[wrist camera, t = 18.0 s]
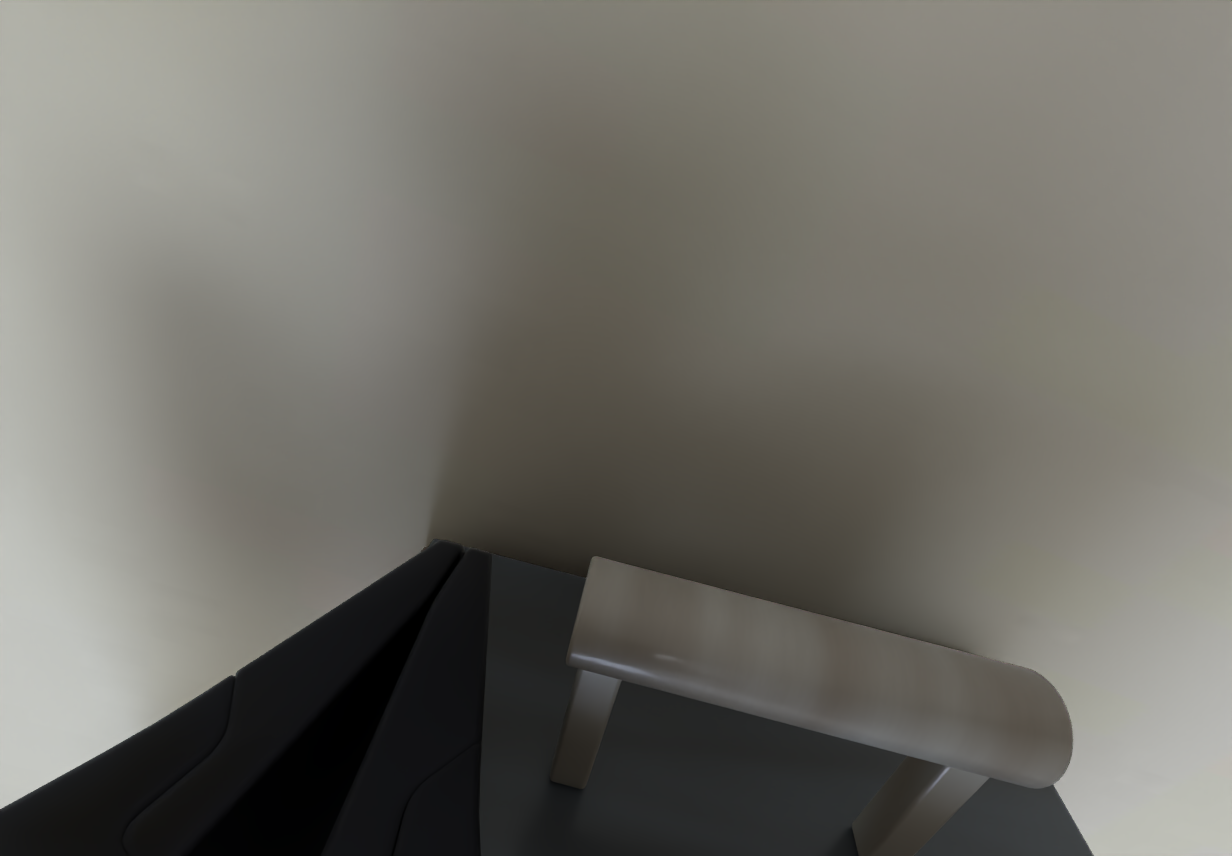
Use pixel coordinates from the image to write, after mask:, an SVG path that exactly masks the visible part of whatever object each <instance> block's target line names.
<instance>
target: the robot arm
mask: <svg viewBox="0 0 1232 856" xmlns="http://www.w3.org/2000/svg"><path fill="white" fill-rule="evenodd" d="M491 572H492V554H491V553H490V552H487V551H483V550H480V549H476V548H469V549H468V550H467V551H466V552H465V548H464V546H463V545H461V544H457V543H454V542H450V541H446V540H440V541H438V542H436V543H434V544H433V545H431V546H430V547H428V548H427V549H425V550H424V551H422V552H421V553H419V554H417V555H416V556H414V557H413V558H411V559H410V560H408V561H407V562H405V563H404V564H402V565H401V566H399V567H397V568H396V569H394V570H393V571H391V572H390V573H388V574H387V575H385V576H384V577H382V578H380V579H379V580H377V581H376V582H374V583H373V584H371V585H370V586H368V587H367V588H365V589H364V590H362V591H360V592H359V593H357V594H356V595H354V596H353V597H351V598H350V599H348V600H347V601H345V602H343V603H342V604H340V605H339V606H337V607H336V608H334V609H333V610H331V611H330V612H328V613H326V614H325V615H323V616H322V617H320V618H319V619H317V620H316V621H314V622H313V623H311V624H310V625H308V626H306V627H305V628H303V629H302V630H300V631H299V632H297V633H296V634H294V635H293V636H291V637H289V638H288V639H286V640H285V641H283V642H282V643H280V644H279V645H277V646H276V647H274V648H273V649H271V650H269V651H268V652H266V653H265V654H263V655H262V656H260V657H259V658H257V659H256V660H254V661H252V662H251V663H249V664H248V665H246V666H245V667H243V668H242V669H240V670H239V671H237V673H236V676H233V675H231V676H229V677H227V678H226V679H224V680H223V681H221V682H220V683H218V684H217V685H215V686H213V687H212V688H210V689H209V690H207V691H206V692H204V693H203V694H201V695H199V696H198V697H196V698H195V699H193V700H191V701H190V702H188V703H187V704H185V705H183V706H182V707H180V708H179V709H177V710H175V711H174V712H172V713H170V714H169V715H167V716H166V717H164V718H162V719H161V720H159V721H158V722H156V723H154V724H152V725H151V726H149V727H147V728H145V729H144V730H142V731H140V732H138V733H137V734H135V735H133V736H132V737H130V738H128V739H126V740H125V741H123V742H121V743H119V744H118V745H116V746H114V747H112V748H111V749H109V750H107V751H105V752H104V753H102V754H100V755H98V756H96V757H95V758H93V759H91V760H89V761H87V762H85V763H84V764H82V765H80V766H78V767H76V768H75V769H73V770H71V771H69V772H67V773H65V774H64V775H62V776H60V777H58V778H56V779H55V780H53V781H51V782H49V783H47V784H45V785H44V786H42V787H40V788H38V789H36V790H35V791H33V792H31V793H29V794H27V795H25V796H24V797H22V798H20V799H18V800H16V801H15V802H13V803H11V804H9V805H7V806H5V807H4V808H2V809H0V856H481V843H480V819H479V808H480V770H481V752H482V746H481V742H482V730H483V712H484V695H485V677H486V660H487V642H488V624H489V607H490V589H491Z"/></svg>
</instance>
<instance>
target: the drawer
mask: <svg viewBox="0 0 1232 856" xmlns="http://www.w3.org/2000/svg"><path fill="white" fill-rule="evenodd" d="M438 541H440V540H438V539H434V540H433V541H432V542H431V544H430V545H429V547H430V546H431V545H433V544H434V543H436V542H438ZM464 548H465V552H466V551H467V550H468V549H469V547H465V546H464ZM491 554H492V553H491ZM481 746H482V752H481V770H480V808H479V819H480V843H481V856H1094V855H1093V854H1092V852H1091V850H1090V848H1089V847H1088V845H1087V843H1086V841H1085V840H1084V838H1083V836H1082V834H1081V833H1080V831H1079V829H1078V827H1077V826H1076V824H1075V822H1074V820H1073V819H1072V817H1071V815H1070V813H1069V811H1068V810H1067V808H1066V806H1065V804H1064V803H1063V801H1062V799H1061V797H1060V796H1059V794H1058V792H1057V790H1056V789H1055V787H1054V785H1053V784H1054V783H1056V782H1057V781H1058V780H1059V779H1060V778H1061V777H1062V776H1063V775H1064V773H1065V771H1066V770H1067V767H1068V765H1069V763H1070V759H1071V756H1072V749H1073V731H1072V725H1071V720H1070V717H1069V713H1068V711H1067V708H1066V705H1065V703H1064V701H1063V699H1062V698H1061V696H1060V694H1059V693H1058V691H1057V690H1056V689H1055V687H1054V686H1053V685H1052V684H1051V683H1050V682H1049V681H1048V680H1047V679H1046V678H1044V677H1043V676H1042V675H1040V674H1039V673H1037V672H1036V671H1033V670H1031V669H1028V668H1024V667H1020V666H1016V665H1013V664H1009V663H1005V662H1001V661H997V660H993V659H990V658H986V657H982V656H978V655H974V654H970V653H966V652H963V651H959V650H955V649H951V648H947V647H943V646H940V645H936V644H932V643H928V642H924V641H920V640H917V639H913V638H909V637H905V636H901V635H897V634H893V633H890V632H886V631H882V630H878V629H874V628H870V627H867V626H863V625H859V624H855V623H851V622H847V621H843V620H840V619H836V618H832V617H828V616H824V615H820V614H817V613H813V612H809V611H805V610H801V609H797V608H794V607H790V606H786V605H782V604H778V603H774V602H770V601H767V600H763V599H759V598H755V597H751V596H747V595H744V594H740V593H736V592H732V591H728V590H724V589H720V588H717V587H713V586H709V585H705V584H701V583H697V582H694V581H690V580H686V579H682V578H678V577H674V576H671V575H667V574H663V573H659V572H655V571H651V570H647V569H644V568H640V567H636V566H632V565H628V564H624V563H621V562H617V561H613V560H609V559H605V558H601V557H597V556H595V557H593V558H592V559H591V562H590V566H589V570H588V574H587V578H584V577H580V576H576V575H572V574H569V573H565V572H561V571H557V570H553V569H549V568H546V567H542V566H538V565H534V564H530V563H526V562H523V561H519V560H515V559H511V558H507V557H503V556H500V555H496V554H492V572H491V589H490V607H489V624H488V642H487V660H486V677H485V695H484V712H483V730H482V742H481Z"/></svg>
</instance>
